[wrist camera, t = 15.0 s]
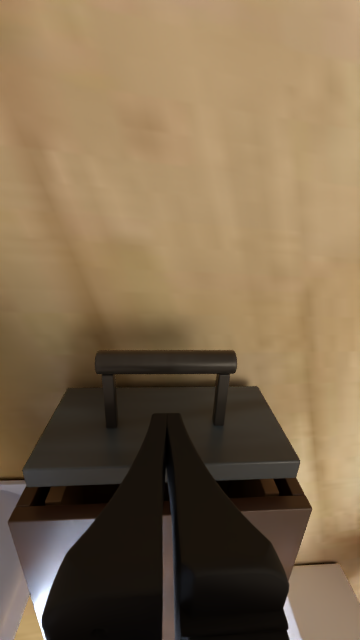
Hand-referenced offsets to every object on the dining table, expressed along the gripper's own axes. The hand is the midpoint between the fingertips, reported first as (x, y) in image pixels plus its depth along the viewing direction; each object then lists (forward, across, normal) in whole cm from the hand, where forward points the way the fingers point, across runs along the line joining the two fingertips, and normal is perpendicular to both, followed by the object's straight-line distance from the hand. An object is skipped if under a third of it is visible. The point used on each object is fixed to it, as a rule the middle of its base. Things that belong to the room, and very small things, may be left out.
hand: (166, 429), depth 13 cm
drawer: (+5, 0, +5) cm, 7 cm away
